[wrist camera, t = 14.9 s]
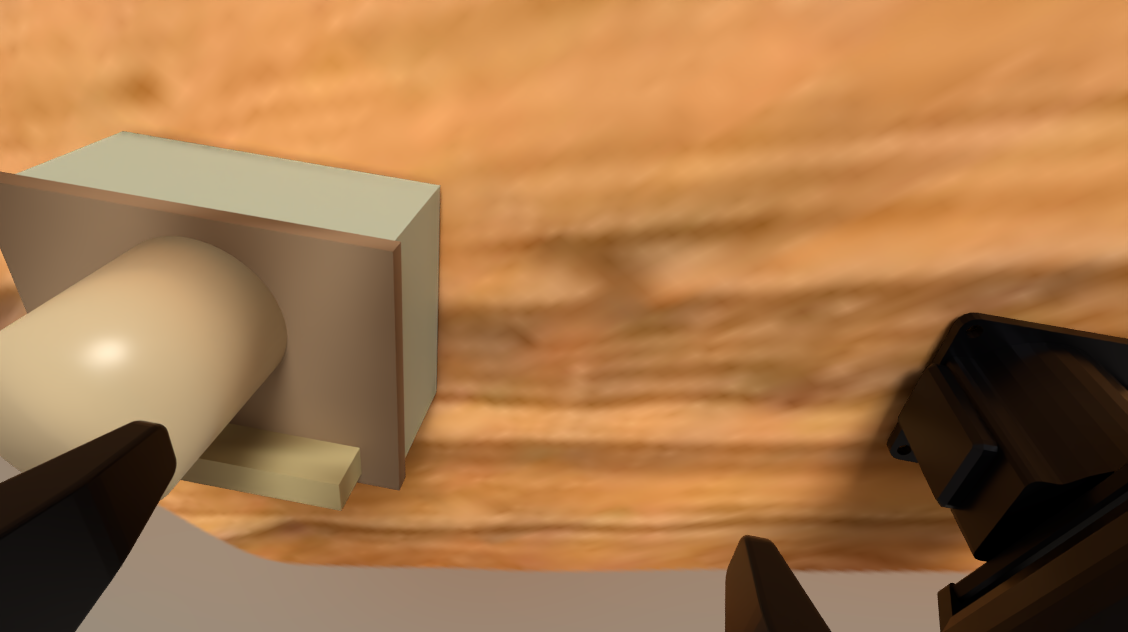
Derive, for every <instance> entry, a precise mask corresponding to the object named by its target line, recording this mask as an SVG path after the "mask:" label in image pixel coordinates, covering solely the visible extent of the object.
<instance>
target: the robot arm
mask: <svg viewBox="0 0 1128 632" xmlns="http://www.w3.org/2000/svg"><path fill="white" fill-rule="evenodd" d="M974 325H978V327H977V328H976V329H975V330H972V331H967V330H968V329H969V328H970V327H972V326H974ZM898 421H899V422H898V423H897V425H896V427H895V429H894V430H893V432H892V434H891V436H890V437H889V439H888V442H887V446H888V449H889V451H890V453H891V455H892V456H893V457H894V458H896V459H900V460H905V461H911V462H916V463H919V465H920V467H921V470H922V472H923V474H924V476H925V478H926V480H927V482H928V484H929V486H930V488H931V491H932V493H933V495H934V497H935V499H936V500H937V502H938V503H939V505H940V506H941V507H946V508H950V509H951V511H952V513H953V515H954V517H955V519H956V522H957V524H958V526H959V528H960V530H961V532H962V534H963V536H964V538H965V540H966V542H967V544H968V546H969V548H970V550H971V552H972V554H973V556H974V557H975V559H977V560H980V561H985V562H986V563H985V564H983V565H982V566H980V567H979V568H977V569H976V570H975V571H973V572H972V573H970V574H969V575H968V576H966V577H965V578H963V579H962V580H960V581H959V582H958V583H956V584H954V583H950V584H949V585H947V586H946V587H944V588H943V589H942V590H940V591H939V592H938V607H939V620H940V632H1128V339H1126V338H1120V337H1114V336H1108V335H1102V334H1097V333H1091V332H1085V331H1079V330H1074V329H1068V328H1062V327H1056V326H1050V325H1045V324H1039V323H1033V322H1027V321H1022V320H1016V319H1010V318H1004V317H998V316H993V315H987V314H981V313H968V314H964V315H963V316H961V317H959V318H958V319H957V321H956V322H955V323H954V325H953V327H952V328H951V330H950V332H949V334H948V335H947V337H946V339H945V341H944V342H943V344H942V346H941V348H940V349H939V351H938V353H937V355H936V356H935V358H934V360H933V362H932V364H931V365H930V366H928V367H927V368H926V369H925V371H924V372H923V374H922V376H921V378H920V380H919V381H918V383H917V385H916V387H915V388H914V390H913V392H912V394H911V395H910V397H909V399H908V401H907V403H906V404H905V406H904V408H903V410H902V411H901V413H900V415H899V417H898ZM903 445H906V446H904V447H900V446H903ZM176 466H177V460H176V456H175V453H174V450H173V446H172V443H171V440H170V436H169V433H168V430H167V428H166V427H165V426H164V425H162V424H159V423H154V422H148V421H142V420H137V421H133V422H130V423H128V424H126V425H123V426H121V427H119V428H117V429H115V430H113V431H111V432H108V433H106V434H104V435H102V436H100V437H98V438H96V439H93V440H91V441H89V442H87V443H85V444H83V445H81V446H78V447H76V448H74V449H72V450H70V451H68V452H66V453H63V454H61V455H59V456H57V457H55V458H53V459H51V460H48V461H46V462H44V463H42V464H40V465H38V466H36V467H33V468H31V469H29V470H27V471H25V472H23V473H21V474H19V475H17V476H14V477H12V478H10V479H8V480H6V481H4V482H1V483H0V632H75V631H76V630H77V628H78V627H79V625H80V624H81V623H82V621H83V620H84V619H85V617H86V616H87V614H88V613H89V611H90V610H91V609H92V607H93V606H94V605H95V603H96V601H97V600H98V599H99V597H100V596H101V595H102V593H103V592H104V590H105V589H106V588H107V586H108V585H109V583H110V582H111V581H112V579H113V578H114V576H115V575H116V573H117V572H118V570H119V569H120V567H121V566H122V564H123V563H124V561H125V559H126V558H127V556H128V554H129V553H130V551H131V550H132V548H133V546H134V544H135V543H136V541H137V539H138V537H139V536H140V534H141V532H142V530H143V529H144V527H145V525H146V523H147V522H148V520H149V518H150V516H151V515H152V513H153V511H154V509H155V507H156V506H157V504H158V503H159V501H160V499H161V497H162V496H163V494H164V492H165V490H166V489H167V487H168V485H169V483H170V482H171V480H172V478H173V476H174V474H175V471H176ZM725 585H726V586H725V632H831V631H830V629H829V628H828V626H827V625H826V623H825V621H824V620H823V618H822V617H821V615H820V614H819V612H818V611H817V609H816V608H815V606H814V605H813V603H812V602H811V600H810V598H809V597H808V595H807V594H806V592H805V591H804V589H803V588H802V586H801V585H800V583H799V582H798V580H797V578H796V577H795V575H794V574H793V572H792V571H791V569H790V568H789V566H788V565H787V563H786V562H785V560H784V558H783V557H782V555H781V554H780V552H779V551H778V549H777V548H776V546H775V545H774V543H773V542H771V541H770V540H769V539H766V538H760V537H755V536H750V535H745V536H743V537H742V538H741V539H740V541H739V543H738V546H737V548H736V550H735V552H734V555H733V557H732V559H731V561H730V564H729V566H728V569H727V574H726V582H725Z"/></svg>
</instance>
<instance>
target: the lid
mask: <svg viewBox="0 0 1128 632" xmlns="http://www.w3.org/2000/svg"><path fill="white" fill-rule="evenodd" d="M162 236H178V237H187V238H191V239H195V240H199V241H202V242H205V243H208V244H210V245H213V246H215V247H217V248H219V249H221V250H223V251H225V252H226V253H228V254H230V255H232V256H233V257H235V258H236V259H238V260H239V261H240V262H242V263H243V264H244V265H246V266H247V267H248V268H249V269H250V270H252V271H253V272H254V273H255V274H256V275H257V276H258V277H259V278H260V279H261V280H262V281H263V283H264V284H265V285H266V286H267V288H268V289H269V290H270V292H271V293H272V295H273V296H274V298H275V299H276V301H277V303H278V305H279V307H280V309H281V311H282V314H283V317H284V319H285V323H286V328H287V347H286V350H285V354H284V356H283V358H282V360H281V362H280V363H279V364H278V366H277V367H276V368H275V369H274V370H273V372H272V373H271V374H270V375H269V376H268V378H267V379H266V380H265V381H264V382H263V383H262V385H261V386H260V387H259V388H258V389H257V390H256V392H255V393H254V394H253V395H252V396H251V397H250V399H249V400H248V401H247V402H246V403H245V405H244V406H243V407H242V408H241V409H240V410H239V412H238V413H237V414H236V415H235V416H234V417H233V419H232V420H231V421H230V422H229V423H228V425H227V426H226V427H225V428H224V429H223V430H222V432H221V433H220V434H219V435H218V436H217V437H216V439H215V440H214V441H213V442H212V443H211V444H210V446H209V447H208V448H207V449H206V450H205V452H204V453H203V454H202V455H201V456H200V457H199V459H198V460H197V461H196V462H195V463H194V464H193V466H192V467H191V468H190V469H189V470H188V471H187V473H186V474H185V475H184V476H183V477H182V479H181V480H184V481H189V482H194V483H199V484H204V485H210V486H215V487H220V488H225V489H230V490H235V491H241V492H246V493H251V494H256V495H261V496H267V497H272V498H277V499H282V500H287V501H293V502H298V503H303V504H308V505H313V506H318V507H324V508H329V509H334V510H339V511H342V509H343V507H344V505H345V503H346V501H347V500H348V498H349V496H350V494H351V492H352V490H353V488H354V487H355V485H356V483H357V482H358V483H363V484H368V485H373V486H379V487H384V488H389V489H394V490H400V488H401V486H402V484H403V481H404V479H405V429H404V376H403V323H402V270H401V242H400V241H394V240H388V239H382V238H377V237H371V236H365V235H360V234H354V233H348V232H342V231H337V230H331V229H325V228H319V227H314V226H308V225H302V224H297V223H291V222H285V221H279V220H274V219H268V218H262V217H257V216H251V215H245V214H239V213H234V212H228V211H222V210H217V209H211V208H205V207H199V206H194V205H188V204H182V203H177V202H171V201H165V200H159V199H154V198H148V197H142V196H137V195H131V194H125V193H119V192H114V191H108V190H102V189H97V188H91V187H85V186H79V185H74V184H68V183H62V182H56V181H51V180H45V179H39V178H34V177H28V176H22V175H16V174H11V173H5V172H0V249H1V251H2V254H3V256H4V258H5V261H6V263H7V266H8V268H9V270H10V273H11V275H12V278H13V280H14V283H15V285H16V287H17V290H18V292H19V295H20V297H21V300H22V302H23V304H24V307H25V309H26V312H27V314H28V313H29V312H31V311H33V310H34V309H36V308H37V307H39V306H41V305H42V304H44V303H45V302H47V301H49V300H50V299H52V298H53V297H55V296H57V295H58V294H60V293H61V292H63V291H65V290H66V289H68V288H69V287H71V286H72V285H74V284H76V283H77V282H79V281H80V280H82V279H84V278H85V277H87V276H88V275H90V274H92V273H93V272H95V271H96V270H98V269H100V268H101V267H103V266H104V265H106V264H108V263H109V262H111V261H112V260H114V259H116V258H117V257H119V256H120V255H122V254H123V253H125V252H127V251H128V250H130V249H131V248H133V247H135V246H136V245H138V244H140V243H142V242H144V241H146V240H149V239H152V238H156V237H162Z"/></svg>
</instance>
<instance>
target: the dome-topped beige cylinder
mask: <svg viewBox="0 0 1128 632" xmlns="http://www.w3.org/2000/svg"><path fill="white" fill-rule="evenodd" d="M286 347H287V328H286V323H285V319H284V317H283V314H282V311H281V309H280V307H279V305H278V303H277V301H276V299H275V298H274V296H273V295H272V293H271V292H270V290H269V289H268V288H267V286H266V285H265V284H264V283H263V281H262V280H261V279H260V278H259V277H258V276H257V275H256V274H255V273H254V272H253V271H252V270H250V269H249V268H248V267H247V266H246V265H244V264H243V263H242V262H240V261H239V260H238V259H236V258H235V257H233V256H232V255H230V254H228V253H226V252H225V251H223V250H221V249H219V248H217V247H215V246H213V245H210V244H208V243H205V242H202V241H199V240H195V239H191V238H187V237H178V236H162V237H156V238H152V239H149V240H146V241H144V242H142V243H140V244H138V245H136V246H135V247H133V248H131V249H130V250H128V251H127V252H125V253H123V254H122V255H120V256H119V257H117V258H116V259H114V260H112V261H111V262H109V263H108V264H106V265H104V266H103V267H101V268H100V269H98V270H96V271H95V272H93V273H92V274H90V275H88V276H87V277H85V278H84V279H82V280H80V281H79V282H77V283H76V284H74V285H72V286H71V287H69V288H68V289H66V290H65V291H63V292H61V293H60V294H58V295H57V296H55V297H53V298H52V299H50V300H49V301H47V302H45V303H44V304H42V305H41V306H39V307H37V308H36V309H34V310H33V311H31V312H29V313H28V314H26V315H25V316H23V317H21V318H20V319H18V320H17V321H15V322H14V323H12V324H10V325H9V326H7V327H6V328H4V329H2V330H1V331H0V456H1V457H2V458H3V459H5V460H6V461H7V462H8V463H9V464H11V465H12V466H13V467H15V468H16V469H18V470H19V471H21V472H22V473H23V472H25V471H27V470H29V469H31V468H33V467H36V466H38V465H40V464H42V463H44V462H46V461H48V460H51V459H53V458H55V457H57V456H59V455H61V454H63V453H66V452H68V451H70V450H72V449H74V448H76V447H78V446H81V445H83V444H85V443H87V442H89V441H91V440H93V439H96V438H98V437H100V436H102V435H104V434H106V433H108V432H111V431H113V430H115V429H117V428H119V427H121V426H123V425H126V424H128V423H130V422H133V421H137V420H142V421H148V422H154V423H159V424H162V425H164V426H165V427H166V428H167V430H168V433H169V436H170V440H171V443H172V446H173V450H174V453H175V456H176V460H177V466H176V471H175V474H174V476H173V478H172V480H171V482H170V483H169V485H168V487H167V489H166V490H165V492H164V494H163V496H162V497H161V499H160V500H162V499H163V498H164V497H165V496H167V495H168V494H169V493H170V491H171V490H172V489H173V488H174V487H175V486H176V484H177V483H178V482H179V481H180V480H181V479H182V477H183V476H184V475H185V474H186V473H187V471H188V470H189V469H190V468H191V467H192V466H193V464H194V463H195V462H196V461H197V460H198V459H199V457H200V456H201V455H202V454H203V453H204V452H205V450H206V449H207V448H208V447H209V446H210V444H211V443H212V442H213V441H214V440H215V439H216V437H217V436H218V435H219V434H220V433H221V432H222V430H223V429H224V428H225V427H226V426H227V425H228V423H229V422H230V421H231V420H232V419H233V417H234V416H235V415H236V414H237V413H238V412H239V410H240V409H241V408H242V407H243V406H244V405H245V403H246V402H247V401H248V400H249V399H250V397H251V396H252V395H253V394H254V393H255V392H256V390H257V389H258V388H259V387H260V386H261V385H262V383H263V382H264V381H265V380H266V379H267V378H268V376H269V375H270V374H271V373H272V372H273V370H274V369H275V368H276V367H277V366H278V364H279V363H280V362H281V360H282V358H283V356H284V354H285V350H286Z"/></svg>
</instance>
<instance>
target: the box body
mask: <svg viewBox="0 0 1128 632" xmlns="http://www.w3.org/2000/svg"><path fill="white" fill-rule="evenodd" d="M16 175H22V176H28V177H34V178H39V179H45V180H51V181H56V182H62V183H68V184H74V185H79V186H85V187H91V188H97V189H102V190H108V191H114V192H119V193H125V194H131V195H137V196H142V197H148V198H154V199H159V200H165V201H171V202H177V203H182V204H188V205H194V206H199V207H205V208H211V209H217V210H222V211H228V212H234V213H239V214H245V215H251V216H257V217H262V218H268V219H274V220H279V221H285V222H291V223H297V224H302V225H308V226H314V227H319V228H325V229H331V230H337V231H342V232H348V233H354V234H360V235H365V236H371V237H377V238H382V239H388V240H394V241H400V242H401V270H402V323H403V376H404V429H405V458H406V455H407V453H408V451H409V449H410V447H411V445H412V443H413V441H414V438H415V436H416V434H417V432H418V430H419V428H420V426H421V424H422V421H423V419H424V417H425V415H426V413H427V411H428V409H429V407H430V404H431V402H432V400H433V398H434V396H435V394H436V386H437V332H438V278H439V224H440V185H435V184H429V183H423V182H417V181H411V180H406V179H400V178H394V177H388V176H382V175H376V174H370V173H365V172H359V171H353V170H347V169H341V168H335V167H329V166H324V165H318V164H312V163H306V162H300V161H294V160H289V159H283V158H277V157H271V156H265V155H259V154H253V153H248V152H242V151H236V150H230V149H224V148H218V147H212V146H207V145H201V144H195V143H189V142H183V141H177V140H171V139H166V138H160V137H154V136H148V135H142V134H136V133H131V132H125V131H123V132H120V133H118V134H115V135H112V136H110V137H107V138H105V139H102V140H100V141H97V142H95V143H92V144H90V145H87V146H85V147H82V148H80V149H77V150H75V151H72V152H70V153H67V154H65V155H62V156H60V157H57V158H55V159H52V160H50V161H47V162H45V163H42V164H40V165H37V166H35V167H32V168H30V169H27V170H24V171H22V172H19V173H17V174H16Z"/></svg>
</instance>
